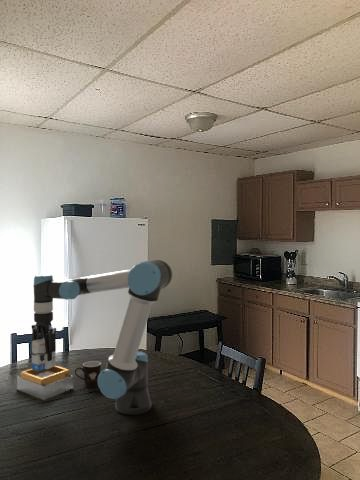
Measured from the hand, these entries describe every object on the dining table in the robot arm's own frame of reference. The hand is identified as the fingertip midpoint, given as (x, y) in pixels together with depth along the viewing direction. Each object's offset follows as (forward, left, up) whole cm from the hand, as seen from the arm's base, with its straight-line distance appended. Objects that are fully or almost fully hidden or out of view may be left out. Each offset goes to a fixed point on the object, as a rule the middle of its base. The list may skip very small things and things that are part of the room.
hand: (44, 366), depth 166 cm
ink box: (0, 0, -1) cm, 1 cm away
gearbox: (+17, -12, -17) cm, 27 cm away
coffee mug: (+3, -28, -17) cm, 33 cm away
